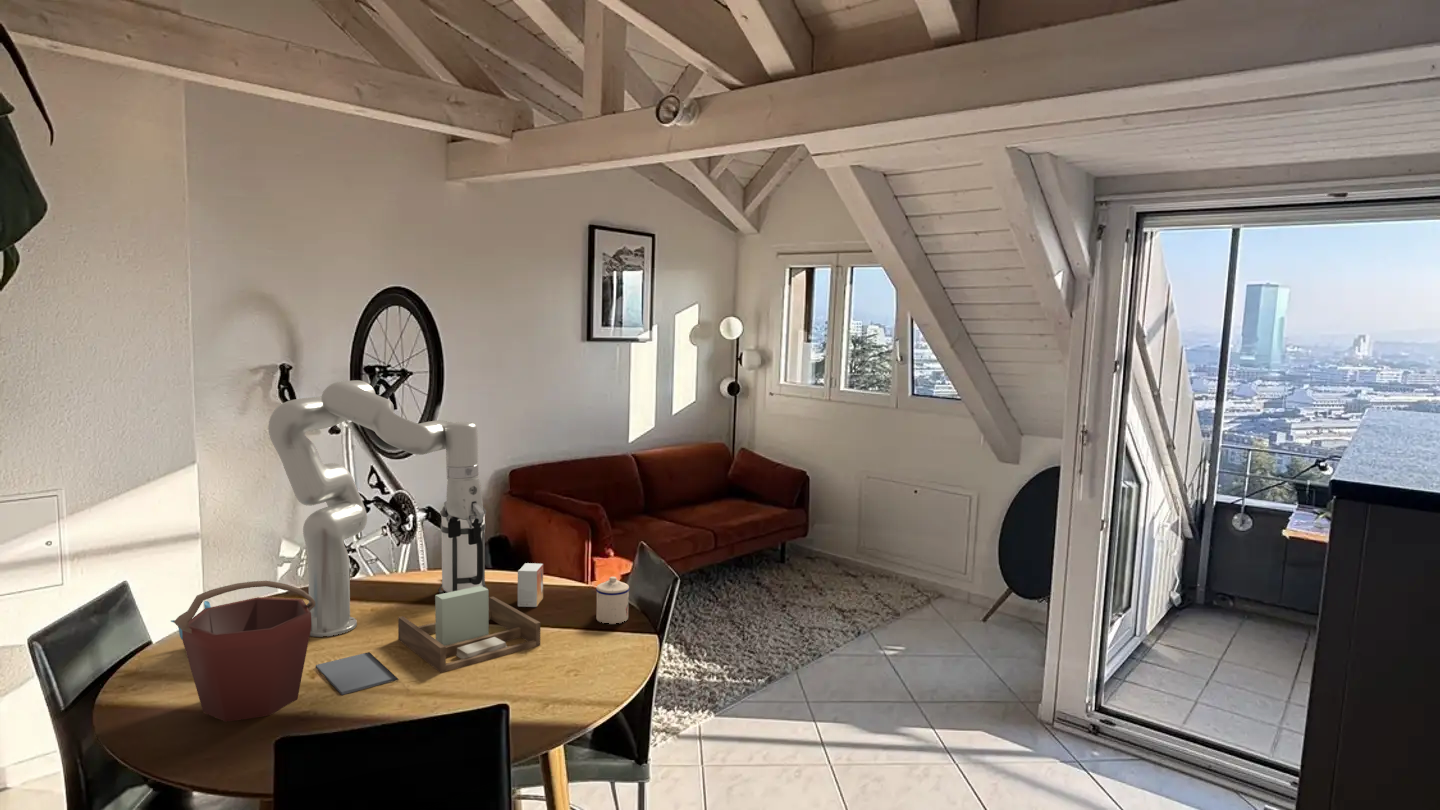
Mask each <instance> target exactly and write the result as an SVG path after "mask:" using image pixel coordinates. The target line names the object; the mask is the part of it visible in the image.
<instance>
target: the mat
mask: <svg viewBox="0 0 1440 810" xmlns="http://www.w3.org/2000/svg"><path fill="white" fill-rule="evenodd" d="M315 669H317V671H318V672H319V673H320V672H321V673H322V674H323V675H324V676H325V677H324V676H323V675H322V674H321V675H322V676H323V677H324V678H325V679H326V680H327V681H328V682H329V683H330V685H332V686H333V687H334V688H335V690H336V691H337V692H339V694H340V695H341V696H342V695H347V694H351V693H355V692H358V691H362V690H365V689H369V688H373V687H376V686H379V685H384V684H387V683H392V682H395V681H399V680H400V679H399V678H398V677H397V676H396V675H395V674H394V673H393V672H391V670H390V669H388V668H387V666H385V665H384V664H382V662H381V661H380V660H379V659H377V658H376V657H375V656H374V655H373V654H372V653H371V652H370V651H368V652H364V653H361V654H360V653H359V654H356V655H352V656H348V657H344V658H339V659H335V660H331V661H327V662H326V661H325V662H323V663H318V664H316V665H315Z"/></svg>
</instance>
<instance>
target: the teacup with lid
mask: <svg viewBox="0 0 1440 810" xmlns="http://www.w3.org/2000/svg"><path fill="white" fill-rule="evenodd" d="M630 590H631V589H630V586H629V584H627V583H625V582H623V581H620V580H618V579H617V577H616V576H610V577H608V580H606V581H605V582H601V583H599V584H597V586H596V588H595V591H596V620H597V622H598V623H601V622H602V623H601V624H604V623H609V624H608V625H617V624H616V623H619V624H622V622H623V623H625V622H626V621H627V620H629V599H630V597H629V596H630V594H629V591H630ZM624 621H625V622H624Z"/></svg>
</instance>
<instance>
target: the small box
mask: <svg viewBox="0 0 1440 810" xmlns="http://www.w3.org/2000/svg"><path fill="white" fill-rule="evenodd" d="M543 599H544V563H536V562H534V563H533V562H532V563H531V562H530V563H529V562H527V563H526V562H525V563H524V564H523V565H522V566H521V568H520V569H518V570H517V607H518V608H519V607H522V608H526V607H527V608H537V607H538V606H539V604H540V603H541V602H542V600H543Z"/></svg>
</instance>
